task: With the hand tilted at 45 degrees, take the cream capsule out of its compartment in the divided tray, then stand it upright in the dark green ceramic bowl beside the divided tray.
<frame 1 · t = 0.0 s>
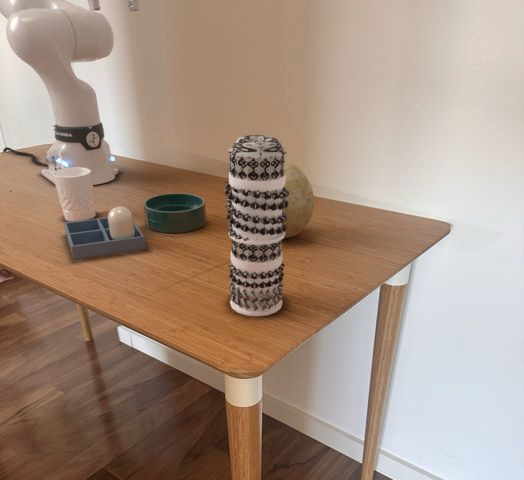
hand: (115, 10, 104), 39 cm above the table, tool pointing down, fingers open, 8 cm apart
fossilized egg: (281, 237, 105), on the table
divided tray: (105, 243, 101), on the table
decorative candle: (255, 304, 81), on the table
bowl: (176, 224, 110), on the table
white cup: (80, 218, 113), on the table
cream capsule: (124, 244, 99), resting on divided tray
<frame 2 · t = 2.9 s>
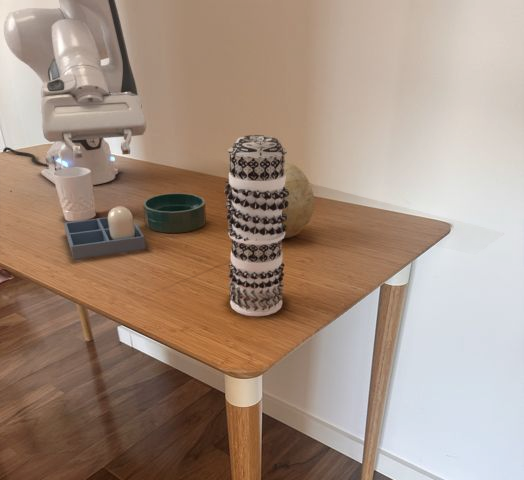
hand: (102, 154, 100), 15 cm above the table, tool tilted 45°, fingers open, 8 cm apart
nothing on the table moved.
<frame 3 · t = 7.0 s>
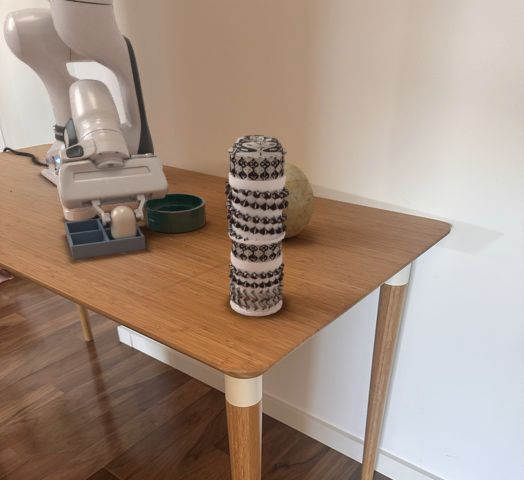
hand: (123, 221, 96), 5 cm above the table, tool tilted 45°, fingers closed on cream capsule, 5 cm apart
white cup: (80, 217, 113), on the table, touching arm
cream capsule: (124, 244, 99), point 1 cm above the table, touching divided tray, gripper
everything else where it was.
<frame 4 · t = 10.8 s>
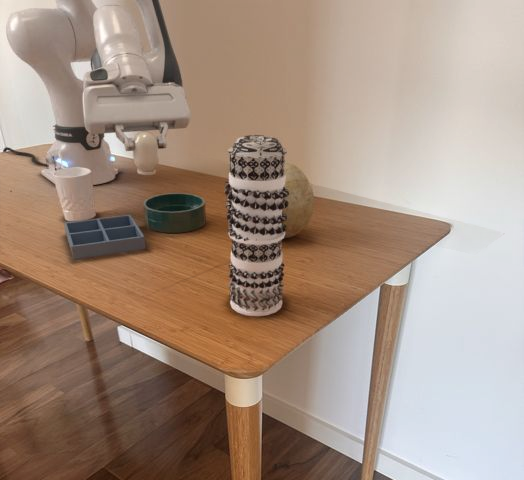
hand: (146, 148, 95), 17 cm above the table, tool tilted 45°, fingers closed on cream capsule, 5 cm apart
white cup: (80, 218, 113), on the table
cream capsule: (146, 172, 99), point 12 cm above the table, touching gripper
everything else where it was.
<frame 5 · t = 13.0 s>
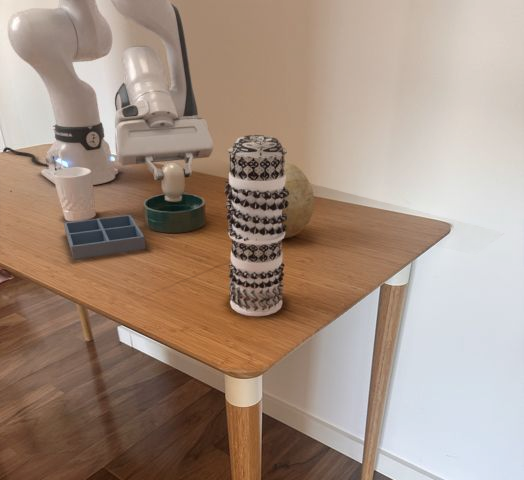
hand: (173, 177, 103), 10 cm above the table, tool tilted 45°, fingers closed on cream capsule, 5 cm apart
cream capsule: (173, 199, 107), point 6 cm above the table, touching gripper
everything else where it was.
when the fingers open (5 cm above the table, at t = 14.5 s): cream capsule stays where it is, resting on bowl.
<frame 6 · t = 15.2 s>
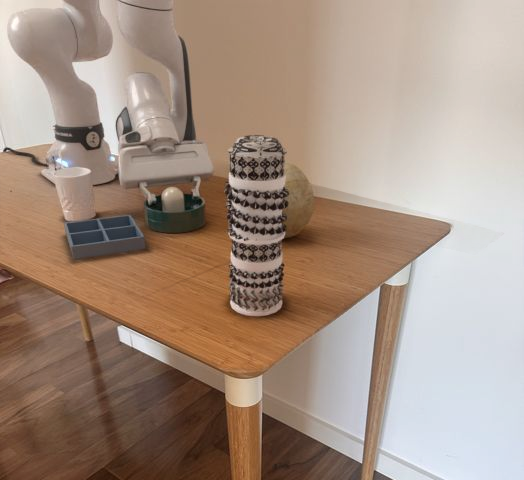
hand: (174, 201, 106), 5 cm above the table, tool tilted 45°, fingers open, 8 cm apart
cream capsule: (174, 222, 110), point 1 cm above the table, touching bowl
everything else where it was.
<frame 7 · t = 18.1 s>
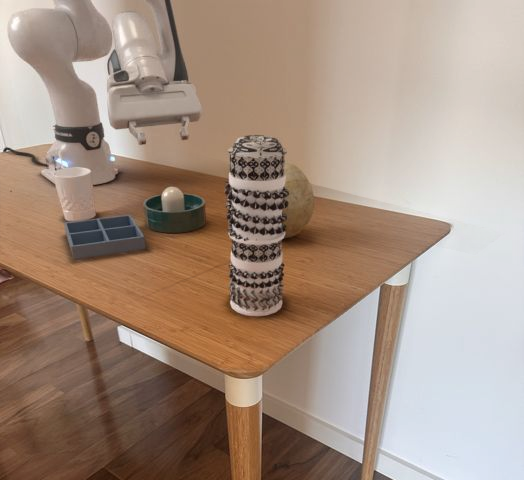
hand: (164, 140, 108), 16 cm above the table, tool tilted 45°, fingers open, 8 cm apart
nothing on the table moved.
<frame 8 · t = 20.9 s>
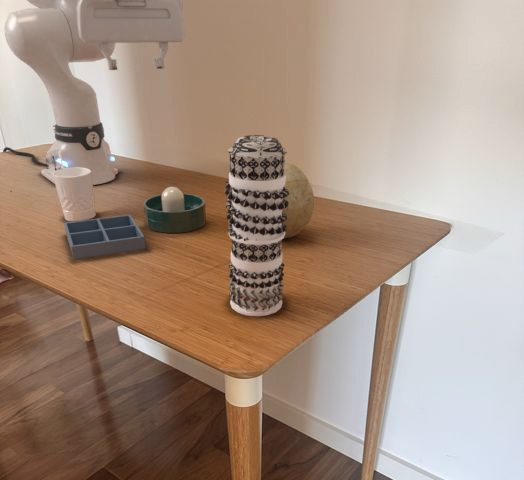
hand: (136, 69, 101), 29 cm above the table, tool pointing down, fingers open, 8 cm apart
nothing on the table moved.
at the end: cream capsule 0.2 cm off-centre in the bowl, point 0.6 cm above the bowl's base; cream capsule tilted 0°; the gripper is holding nothing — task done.
